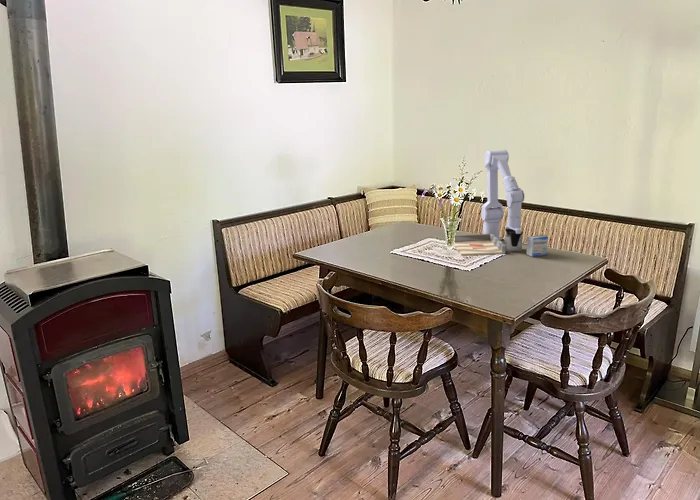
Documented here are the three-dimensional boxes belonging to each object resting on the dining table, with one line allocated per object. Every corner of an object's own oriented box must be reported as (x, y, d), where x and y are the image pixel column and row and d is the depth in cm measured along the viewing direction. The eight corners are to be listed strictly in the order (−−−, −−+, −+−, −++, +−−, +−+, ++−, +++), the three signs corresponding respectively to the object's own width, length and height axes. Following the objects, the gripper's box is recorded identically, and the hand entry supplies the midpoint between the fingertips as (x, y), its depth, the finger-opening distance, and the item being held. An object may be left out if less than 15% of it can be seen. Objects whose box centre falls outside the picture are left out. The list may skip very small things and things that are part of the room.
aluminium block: (504, 249, 253) (504, 234, 251) (519, 248, 253) (519, 234, 251) (506, 251, 249) (507, 236, 247) (521, 250, 249) (522, 236, 247)
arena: (451, 242, 267) (451, 235, 266) (492, 240, 267) (492, 233, 266) (461, 255, 246) (461, 247, 245) (505, 253, 246) (505, 245, 245)
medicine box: (531, 257, 239) (532, 238, 237) (526, 254, 244) (527, 236, 241) (547, 255, 241) (548, 236, 239) (541, 252, 246) (542, 234, 243)
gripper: (501, 213, 254) (500, 241, 257) (510, 220, 240) (509, 249, 243) (516, 212, 254) (514, 240, 257) (526, 219, 240) (524, 249, 243)
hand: (513, 245), depth 250 cm, fingers closed on aluminium block, 4 cm apart
